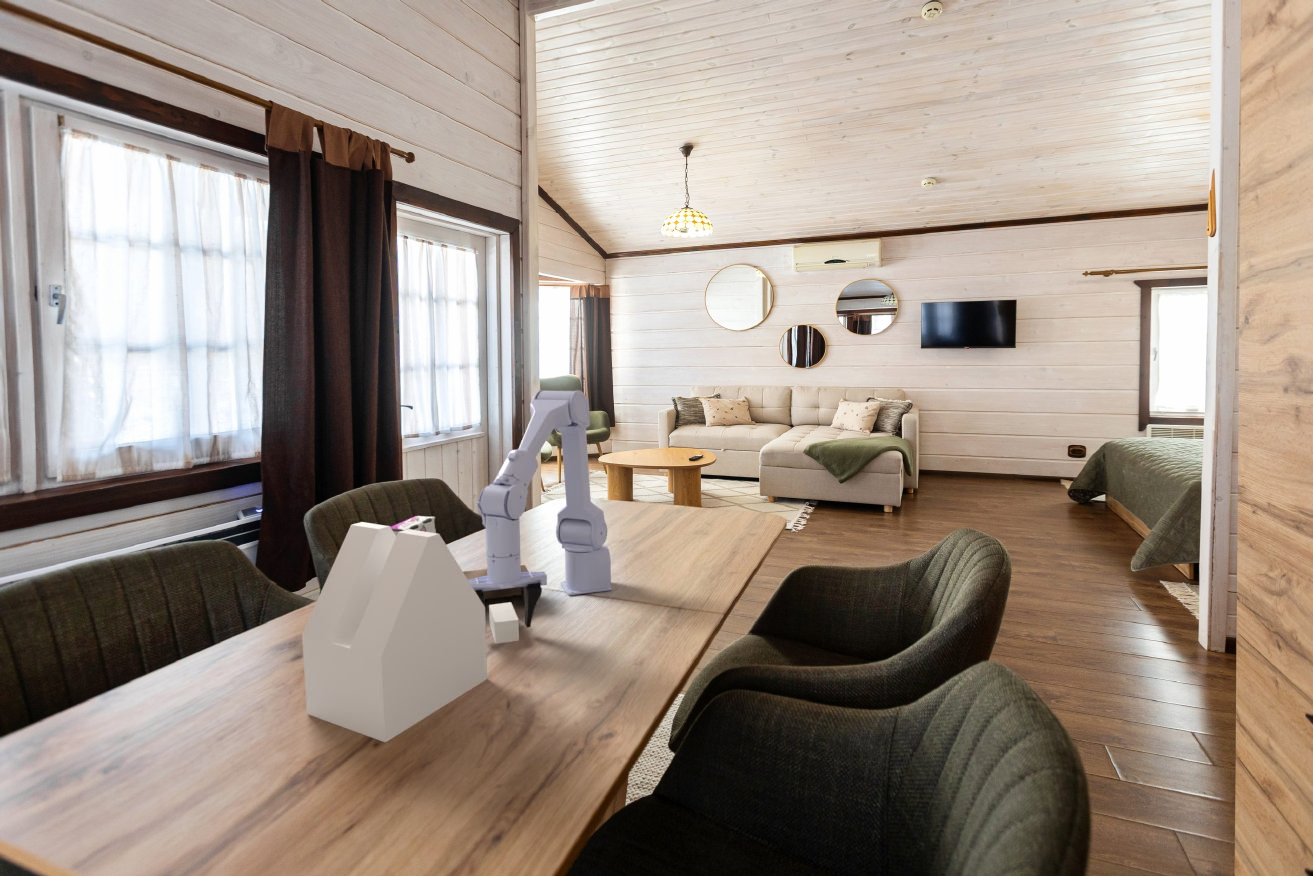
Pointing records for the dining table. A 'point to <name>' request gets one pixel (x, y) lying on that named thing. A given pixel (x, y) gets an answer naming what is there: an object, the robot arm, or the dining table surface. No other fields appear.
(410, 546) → the white tapered slotted holder
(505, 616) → the block
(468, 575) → the cubby
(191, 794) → the dining table surface
